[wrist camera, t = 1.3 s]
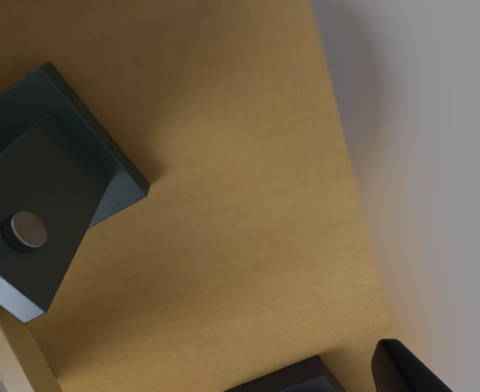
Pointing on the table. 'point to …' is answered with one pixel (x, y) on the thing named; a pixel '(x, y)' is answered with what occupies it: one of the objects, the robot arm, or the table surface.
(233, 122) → the table surface
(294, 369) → the button box
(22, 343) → the switch lever
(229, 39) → the table surface
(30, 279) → the switch bracket
